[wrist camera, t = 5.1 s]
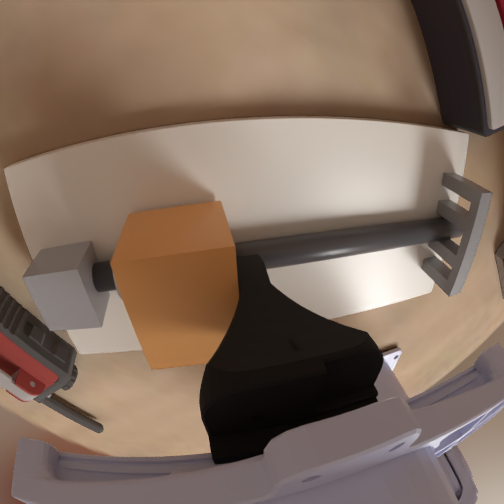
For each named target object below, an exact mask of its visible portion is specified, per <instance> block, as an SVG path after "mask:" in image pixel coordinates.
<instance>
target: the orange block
mask: <svg viewBox="0 0 504 504" xmlns="http://www.w3.org/2000/svg"><path fill="white" fill-rule="evenodd" d="M110 265H111V268H112V271H113V274H114V277H115V280H116V283H117V286H118V288H119V291H120V294H121V297H122V300H123V302H124V305H125V308H126V310H127V313H128V316H129V318H130V321H131V323H132V326H133V328H134V331H135V333H136V335H137V338H138V340H139V343H140V345H141V347H142V350H143V352H144V354H145V356H146V359H147V361H148V363H149V365H150V367H151V370H152V369H163V368H172V367H181V366H189V365H197V364H205V363H208V362H209V360H210V359H211V357H212V356H213V355H214V353H215V352H216V350H217V349H218V347H219V345H220V343H221V342H222V340H223V338H224V336H225V334H226V332H227V330H228V328H229V326H230V324H231V321H232V319H233V316H234V313H235V310H236V307H237V304H238V300H239V288H238V275H237V262H236V248H235V243H234V240H233V237H232V234H231V231H230V228H229V225H228V221H227V218H226V215H225V212H224V209H223V206H222V202H221V201H214V202H206V203H198V204H191V205H183V206H176V207H169V208H162V209H156V210H149V211H143V212H137V213H130V214H128V217H127V219H126V222H125V224H124V227H123V229H122V232H121V235H120V237H119V240H118V243H117V245H116V248H115V251H114V254H113V257H112V259H111V262H110Z"/></svg>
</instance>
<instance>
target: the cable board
mask: <svg viewBox="0 0 504 504" xmlns="http://www.w3.org/2000/svg"><path fill="white" fill-rule="evenodd" d="M468 140H469V134H467V133H464V132H461V131H458V130H453V129H448V128H442V127H436V126H430V125H423V124H416V123H408V122H400V121H390V120H380V119H368V118H353V117H331V116H270V117H248V118H233V119H220V120H210V121H200V122H191V123H183V124H176V125H168V126H162V127H155V128H149V129H143V130H138V131H132V132H127V133H122V134H117V135H112V136H108V137H103V138H99V139H94V140H90V141H86V142H82V143H78V144H74V145H70V146H67V147H63V148H59V149H56V150H53V151H49V152H46V153H43V154H39V155H36V156H33V157H30V158H27V159H24V160H21V161H18V162H15V163H13V164H11V165H9V166H8V167H6V168H4V173H5V177H6V181H7V185H8V189H9V192H10V196H11V200H12V203H13V206H14V210H15V213H16V216H17V219H18V222H19V225H20V228H21V231H22V234H23V237H24V239H25V242H26V245H27V247H28V250H29V253H30V255H31V258H32V260H33V262H32V263H31V265H30V266H29V268H28V269H27V271H26V272H25V274H24V275H23V277H22V278H23V280H24V282H25V284H26V287H27V289H28V291H29V293H30V295H31V297H32V299H33V301H34V303H35V305H36V307H37V308H38V310H39V312H40V314H41V316H42V318H43V319H44V321H45V323H46V325H47V327H48V328H49V330H50V331H61V330H66V331H67V333H68V335H69V336H70V338H71V340H72V341H73V343H74V345H75V347H76V348H77V350H78V352H79V353H80V354H95V353H110V352H124V351H135V350H142V347H141V345H140V343H139V340H138V338H137V335H136V333H135V331H134V328H133V326H132V323H131V321H130V318H129V316H128V313H127V310H126V308H125V305H124V302H123V300H122V297H121V294H120V291H119V288H118V286H117V283H116V280H115V277H114V274H113V271H112V268H111V265H110V262H111V259H112V257H113V254H114V251H115V248H116V245H117V243H118V240H119V237H120V235H121V232H122V229H123V227H124V224H125V222H126V219H127V217H128V214H130V213H137V212H143V211H149V210H156V209H162V208H169V207H176V206H183V205H191V204H198V203H206V202H214V201H221V202H222V206H223V209H224V212H225V215H226V218H227V221H228V225H229V228H230V231H231V234H232V237H233V240H234V243H235V248H236V257H240V256H247V255H255V254H258V255H259V256H260V257H261V259H262V260H263V262H264V264H265V267H266V270H267V273H268V276H269V279H270V282H271V284H272V285H273V286H275V287H276V288H277V289H278V290H279V291H281V292H282V293H283V294H285V295H286V296H287V297H289V298H290V299H292V300H293V301H295V302H296V303H298V304H299V305H301V306H303V307H304V308H306V309H308V310H310V311H312V312H314V313H316V314H318V315H320V316H322V317H324V318H327V319H334V318H338V317H342V316H346V315H350V314H354V313H358V312H362V311H366V310H370V309H374V308H378V307H382V306H385V305H389V304H393V303H396V302H400V301H403V300H407V299H410V298H413V297H417V296H420V295H423V294H427V293H430V292H431V291H432V288H433V285H434V282H435V283H436V284H437V285H438V286H439V287H440V288H441V289H442V290H443V291H444V292H445V293H446V294H447V295H448V296H449V297H450V296H452V295H455V294H458V293H461V290H462V288H463V285H464V283H465V280H466V278H467V275H468V273H469V270H470V267H471V265H472V262H473V259H474V256H475V253H476V250H477V247H478V244H479V241H480V238H481V235H482V231H483V228H484V225H485V221H486V217H487V214H488V210H489V206H490V202H491V198H492V194H493V193H492V192H490V191H488V190H487V189H485V188H483V187H481V186H479V185H478V184H476V183H474V182H472V181H470V180H468V179H466V178H464V177H463V173H464V167H465V161H466V155H467V147H468ZM459 195H460V196H461V197H463V198H465V199H466V200H468V201H470V202H471V206H470V210H469V211H467V210H466V209H464V208H463V207H461V206H460V205H458V204H457V203H458V199H459ZM462 234H463V236H462V239H461V242H460V246H458V245H457V244H456V243H454V242H453V241H452V240H451V238H457V237H460V236H461V235H462ZM442 259H444V260H445V261H446V262H447V263H448V264H449V265H450V266H451V267H452V270H451V269H450V268H448V267H447V266H446V265H445V264H444V263H443V262H442Z"/></svg>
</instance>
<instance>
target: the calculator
mask: <svg viewBox="0 0 504 504" xmlns="http://www.w3.org/2000/svg"><path fill="white" fill-rule="evenodd" d="M411 2H412V4H413V7H414V10H415V12H416V15H417V18H418V21H419V24H420V27H421V30H422V33H423V37H424V40H425V43H426V47H427V51H428V54H429V58H430V62H431V66H432V70H433V74H434V79H435V84H436V88H437V93H438V99H439V104H440V110H441V116H442V121H443V123H444V124H446V125H449V126H453V127H456V128H459V129H463V130H466V131H469V132H472V133H475V134H478V135H481V136H484V137H487V136H490V135H492V134H494V133H496V132H498V131H500V130H502V129H504V0H411Z"/></svg>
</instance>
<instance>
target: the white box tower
mask: <svg viewBox="0 0 504 504" xmlns="http://www.w3.org/2000/svg"><path fill="white" fill-rule="evenodd" d="M495 258H496V262H497V267H498V272H499V277H500V282H501V288H502V294H503V299H504V242H503V243H502V245H501V246H500V247H499V249H498V250H497V251H496V253H495Z"/></svg>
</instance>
